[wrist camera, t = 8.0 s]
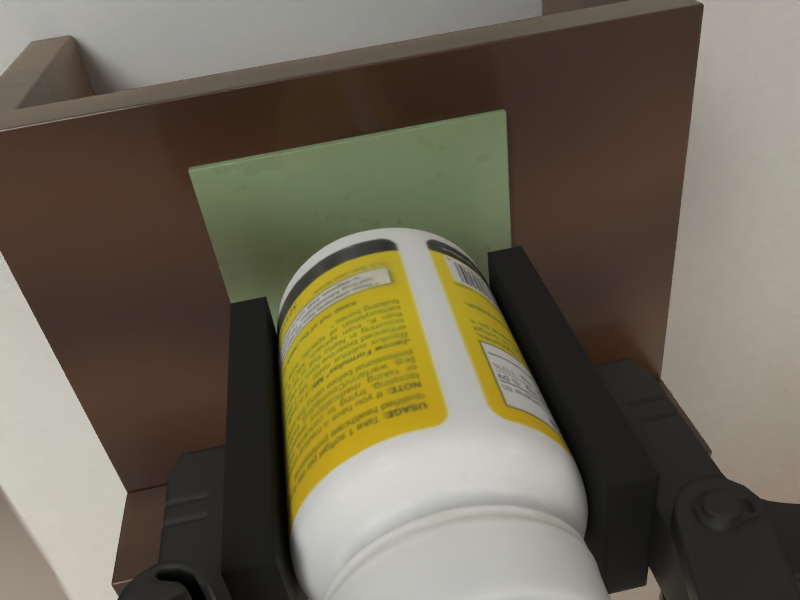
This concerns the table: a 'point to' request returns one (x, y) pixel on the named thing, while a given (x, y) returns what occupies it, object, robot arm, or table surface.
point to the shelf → (335, 201)
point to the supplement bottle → (420, 435)
